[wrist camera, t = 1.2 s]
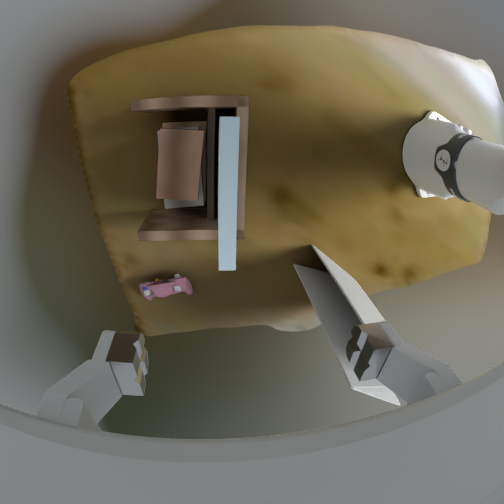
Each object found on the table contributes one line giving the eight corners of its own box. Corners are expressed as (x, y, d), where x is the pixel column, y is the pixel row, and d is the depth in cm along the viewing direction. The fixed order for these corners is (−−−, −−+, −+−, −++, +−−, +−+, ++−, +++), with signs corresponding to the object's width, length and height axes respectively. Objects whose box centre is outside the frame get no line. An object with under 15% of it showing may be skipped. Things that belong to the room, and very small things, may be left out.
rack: (242, 101, 41) (249, 96, 32) (238, 216, 50) (243, 239, 41) (148, 103, 40) (130, 100, 31) (152, 217, 48) (138, 240, 39)
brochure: (292, 264, 56) (349, 387, 29) (311, 244, 54) (385, 358, 28) (337, 297, 61) (399, 405, 34) (355, 279, 60) (427, 383, 33)
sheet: (229, 118, 42) (239, 116, 21) (227, 199, 49) (235, 270, 27) (219, 118, 42) (219, 116, 21) (217, 199, 48) (218, 270, 27)
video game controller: (191, 270, 56) (184, 273, 49) (195, 293, 56) (189, 299, 49) (144, 278, 55) (132, 281, 48) (148, 300, 55) (137, 306, 48)
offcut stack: (207, 121, 42) (204, 121, 35) (206, 197, 48) (204, 213, 41) (164, 122, 42) (153, 123, 34) (166, 198, 47) (156, 214, 40)
